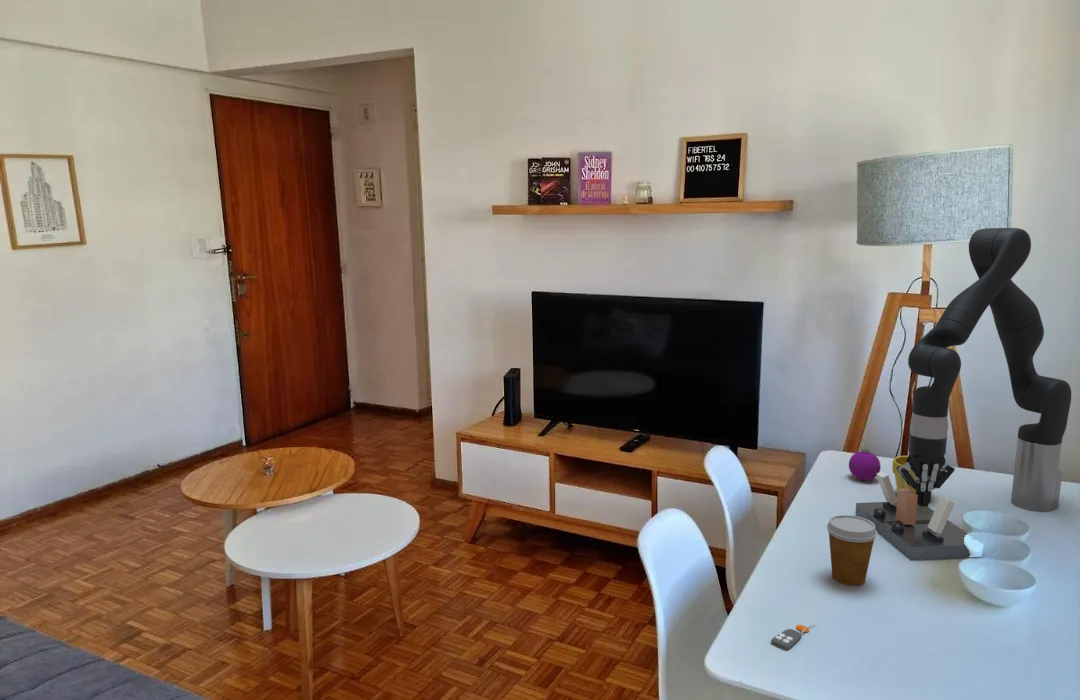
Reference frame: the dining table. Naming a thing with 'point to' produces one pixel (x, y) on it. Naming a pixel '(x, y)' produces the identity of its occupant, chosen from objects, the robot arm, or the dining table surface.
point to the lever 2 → (940, 516)
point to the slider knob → (906, 506)
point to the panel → (914, 532)
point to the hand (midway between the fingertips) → (922, 505)
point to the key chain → (789, 637)
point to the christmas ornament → (864, 465)
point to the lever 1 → (887, 488)
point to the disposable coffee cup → (850, 547)
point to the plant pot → (899, 479)
